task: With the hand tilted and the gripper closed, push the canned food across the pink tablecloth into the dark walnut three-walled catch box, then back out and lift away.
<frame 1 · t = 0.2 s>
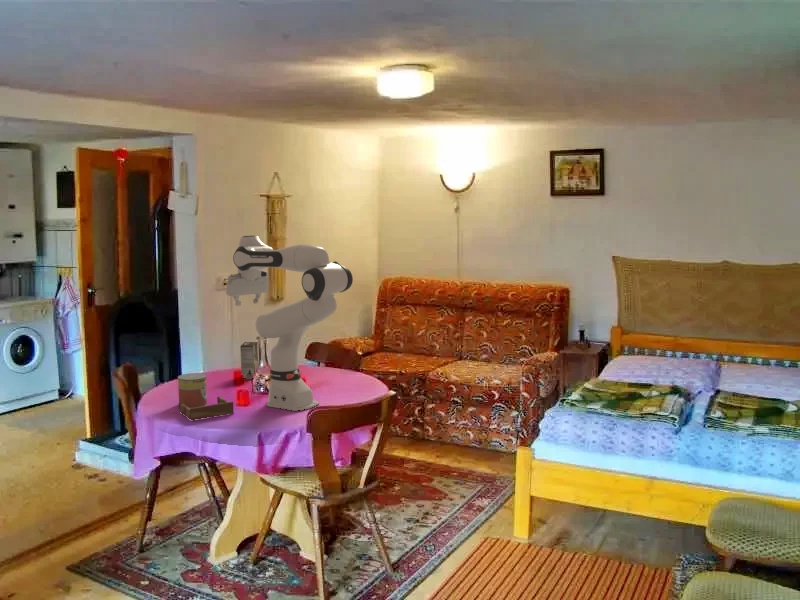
hand: (246, 304, 327), 39 cm above the table, tool pointing down, fingers open, 8 cm apart
canned food: (193, 405, 313), on the table
coffee box: (250, 377, 361), on the table
catch box: (206, 413, 301), on the table
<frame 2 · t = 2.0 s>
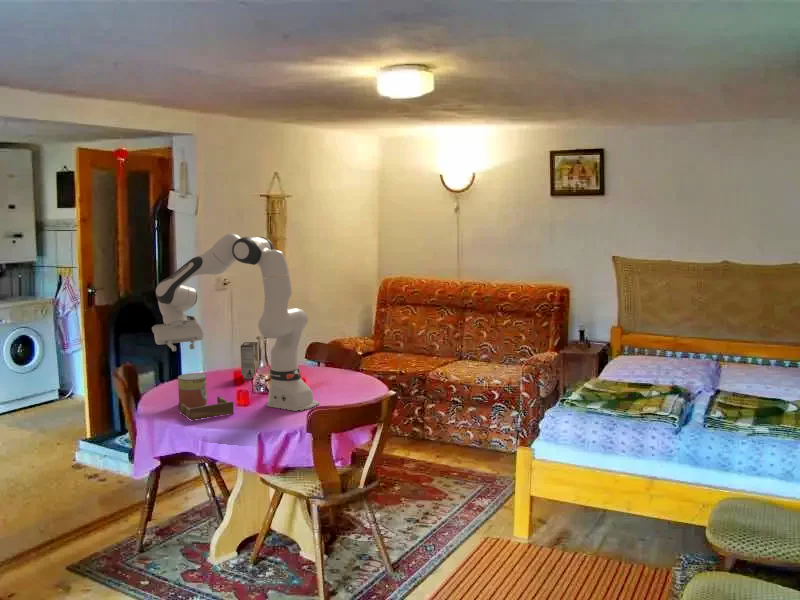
hand: (183, 349, 318), 22 cm above the table, tool tilted 45°, fingers open, 6 cm apart
nothing on the table moved.
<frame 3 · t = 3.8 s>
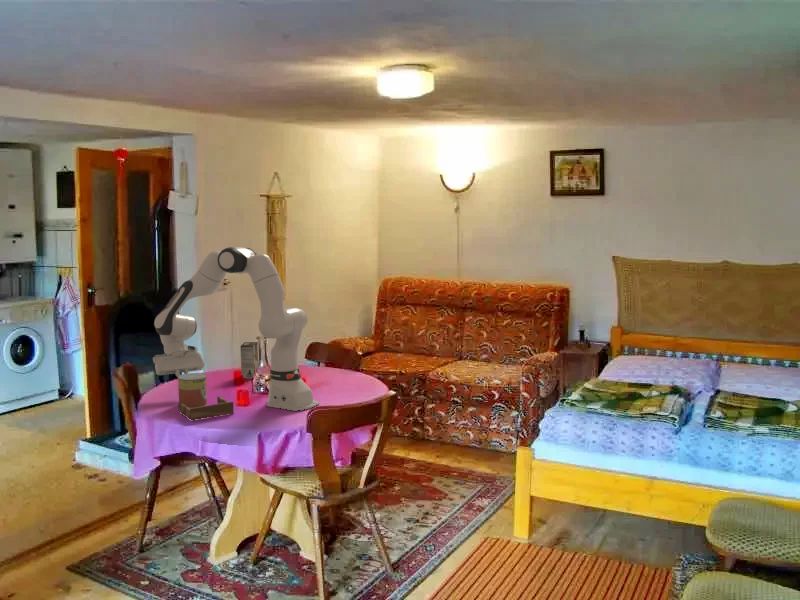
hand: (184, 380, 320), 8 cm above the table, tool tilted 45°, fingers closed
nothing on the table moved.
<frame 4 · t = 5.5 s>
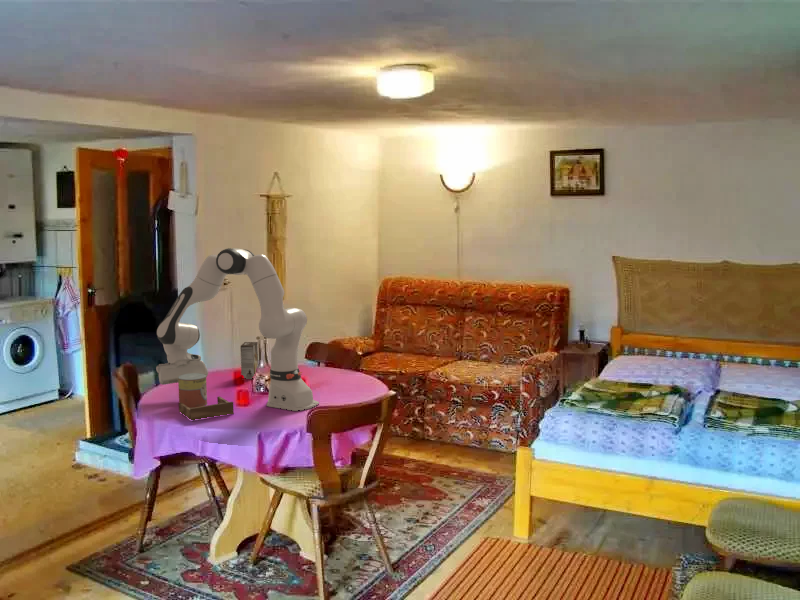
hand: (187, 389, 318), 5 cm above the table, tool tilted 45°, fingers closed
canned food: (193, 405, 313), on the table, touching gripper
everything else where it was.
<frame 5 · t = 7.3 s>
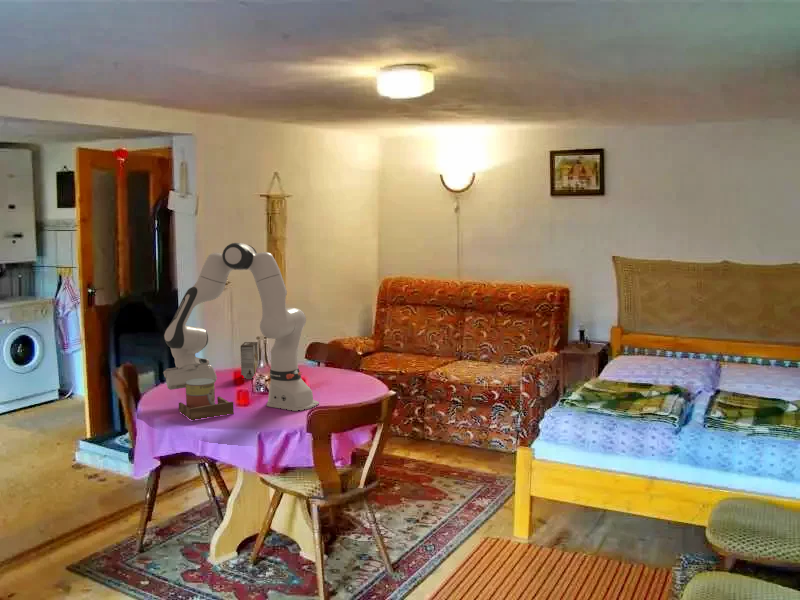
hand: (196, 394, 309), 5 cm above the table, tool tilted 45°, fingers closed
canned food: (200, 411, 305), on the table, touching gripper
everything else where it was.
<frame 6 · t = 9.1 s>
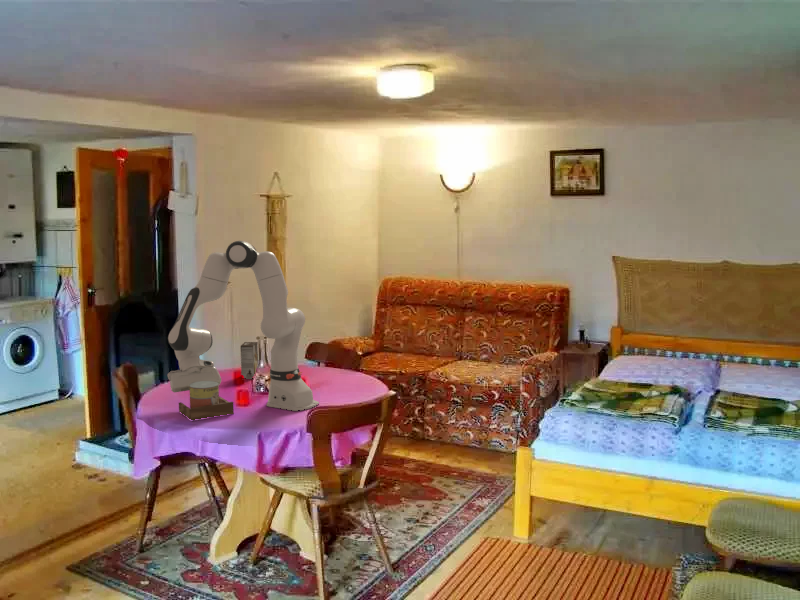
hand: (200, 397, 305), 5 cm above the table, tool tilted 45°, fingers closed
canned food: (204, 414, 300), on the table, touching gripper
everything else where it was.
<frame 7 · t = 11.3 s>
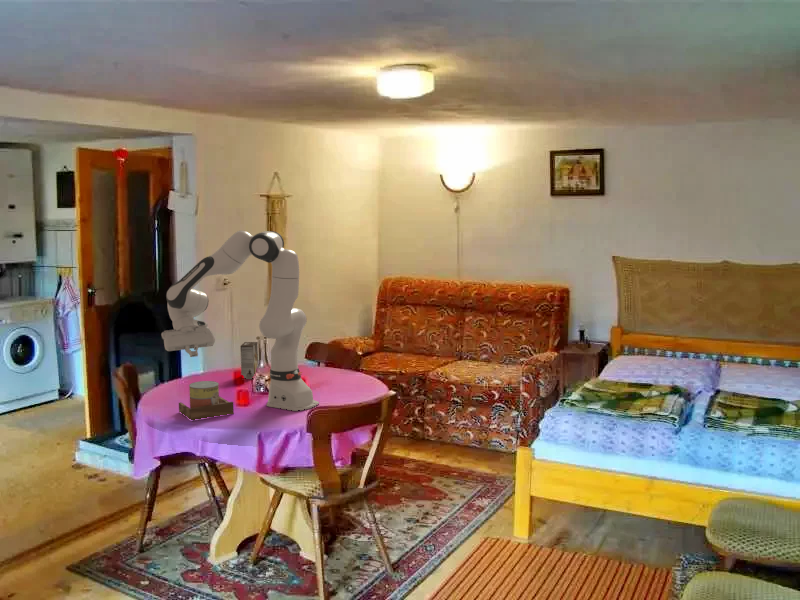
hand: (194, 355, 307), 21 cm above the table, tool tilted 45°, fingers closed
canned food: (204, 414, 300), on the table
everything else where it was.
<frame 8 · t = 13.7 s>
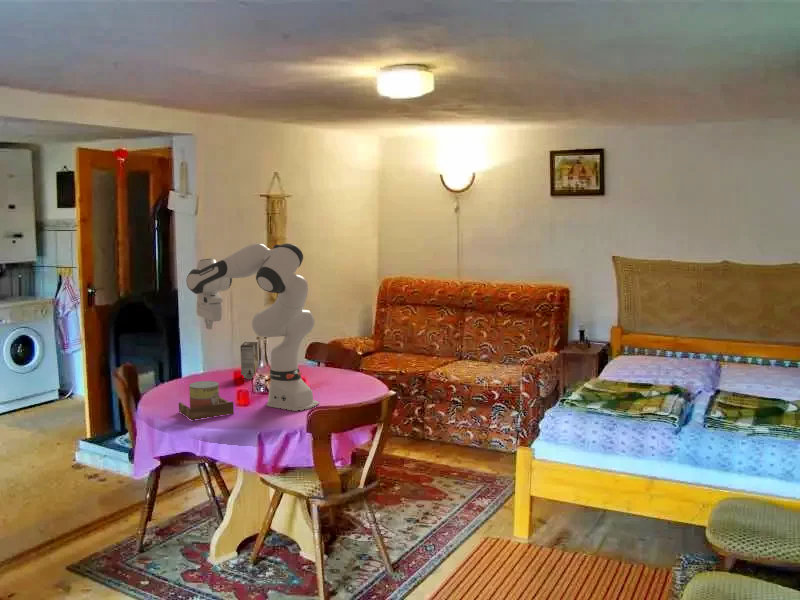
hand: (209, 328, 324), 29 cm above the table, tool pointing down, fingers closed
nothing on the table moved.
at the end: canned food 0.8 cm from the catch box (horizontally); canned food tilted 0°; canned food moved 15.6 cm from its start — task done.
